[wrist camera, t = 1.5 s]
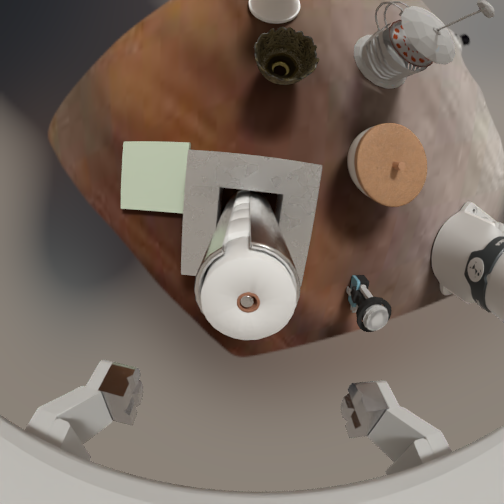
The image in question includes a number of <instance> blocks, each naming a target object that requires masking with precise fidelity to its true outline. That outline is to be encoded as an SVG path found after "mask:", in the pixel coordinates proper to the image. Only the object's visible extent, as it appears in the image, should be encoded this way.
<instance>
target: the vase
mask: <svg viewBox="0 0 504 504" xmlns="http://www.w3.org/2000/svg"><path fill="white" fill-rule="evenodd" d="M249 9H250V11H251V13H252V14H253V15H254V16H255V17H256V18H258V19H260V20H262V21H264V22H267V23H273V24H280V23H285V22H288V21H291V20H292V19H294V18H295V17H296V16H297V14H298V12H299V10H300V1H299V0H249Z"/></svg>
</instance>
